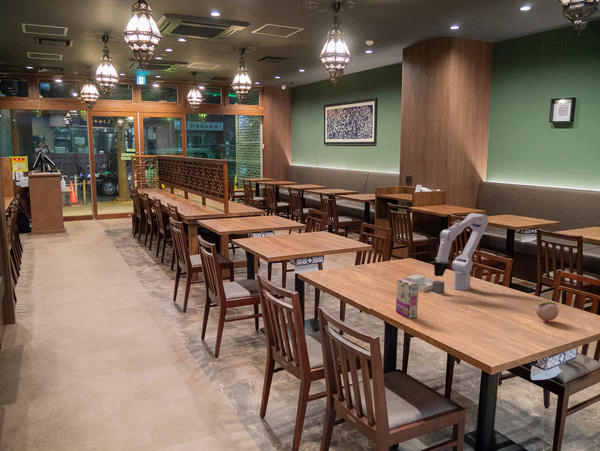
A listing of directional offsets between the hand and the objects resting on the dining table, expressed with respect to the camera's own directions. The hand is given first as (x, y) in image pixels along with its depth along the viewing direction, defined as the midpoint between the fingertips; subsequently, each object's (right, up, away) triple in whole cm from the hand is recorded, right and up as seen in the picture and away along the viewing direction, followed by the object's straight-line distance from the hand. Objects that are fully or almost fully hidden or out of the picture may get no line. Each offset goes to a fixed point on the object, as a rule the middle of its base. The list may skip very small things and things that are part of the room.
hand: (438, 276), depth 260 cm
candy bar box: (-25, -15, -33) cm, 44 cm away
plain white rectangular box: (-8, -7, +16) cm, 20 cm away
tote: (-6, -8, +14) cm, 17 cm away
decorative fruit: (+37, -17, -42) cm, 58 cm away
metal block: (+1, -9, +3) cm, 10 cm away
